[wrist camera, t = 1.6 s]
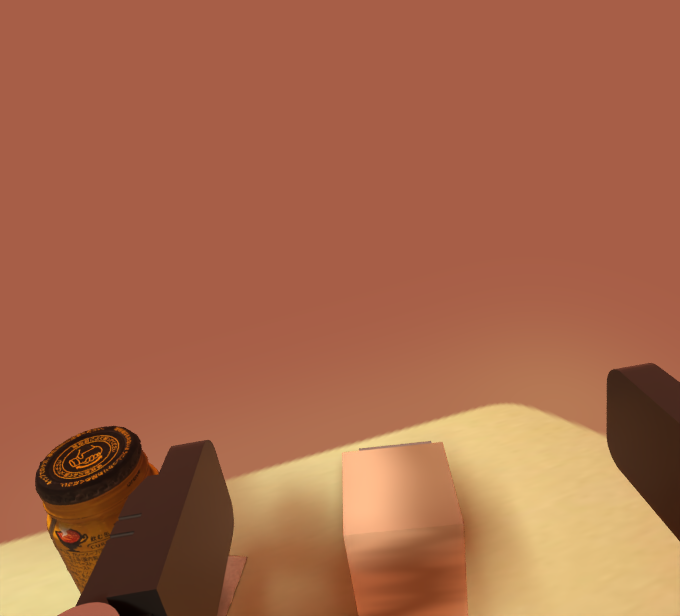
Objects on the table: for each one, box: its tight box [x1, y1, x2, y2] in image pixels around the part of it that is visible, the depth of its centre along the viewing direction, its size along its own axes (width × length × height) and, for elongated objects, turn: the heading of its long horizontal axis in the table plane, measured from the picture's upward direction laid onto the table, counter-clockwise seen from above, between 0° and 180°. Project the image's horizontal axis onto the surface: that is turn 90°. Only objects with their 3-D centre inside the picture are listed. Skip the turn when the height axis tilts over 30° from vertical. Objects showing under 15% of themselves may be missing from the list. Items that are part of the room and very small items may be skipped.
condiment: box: [35, 426, 247, 616], centre depth 30 cm, size 7×8×12 cm
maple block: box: [342, 442, 468, 616], centre depth 27 cm, size 5×5×11 cm
